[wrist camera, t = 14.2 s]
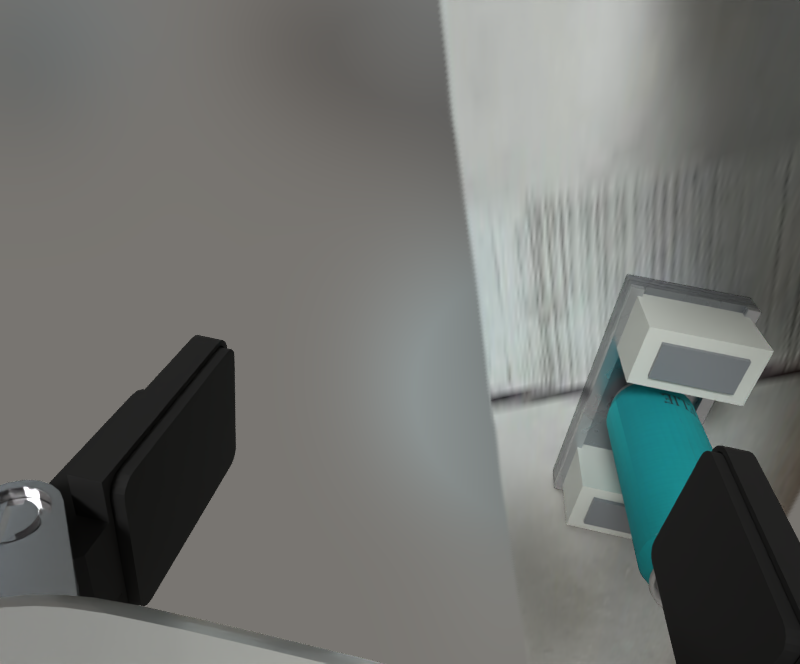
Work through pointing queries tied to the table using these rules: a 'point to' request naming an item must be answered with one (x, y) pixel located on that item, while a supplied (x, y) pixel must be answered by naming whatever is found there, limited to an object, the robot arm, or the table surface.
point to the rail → (609, 371)
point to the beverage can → (652, 460)
